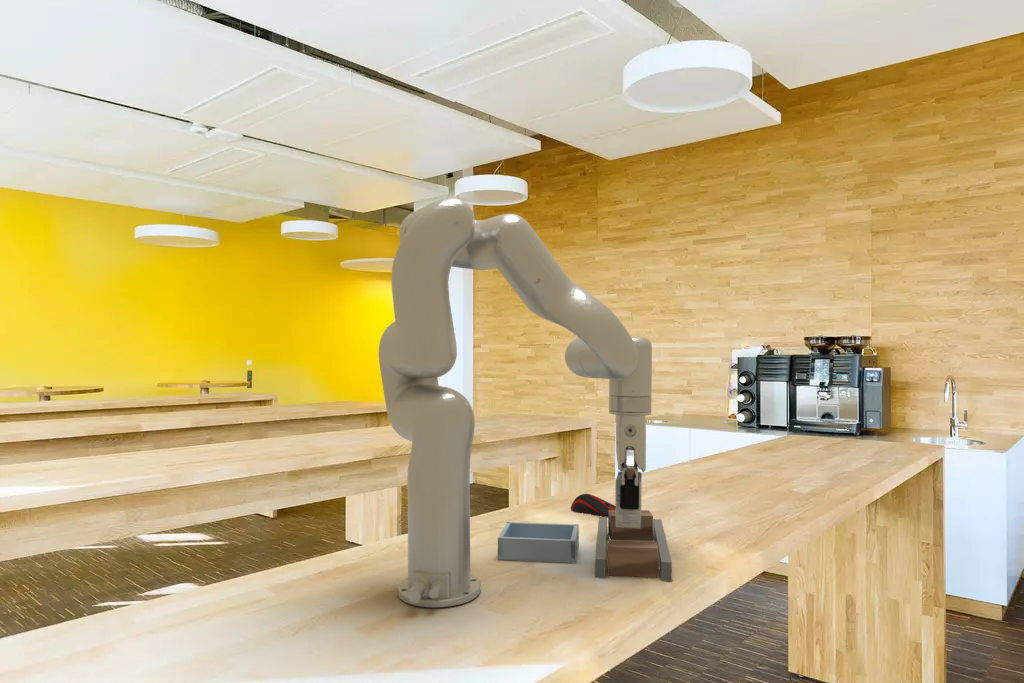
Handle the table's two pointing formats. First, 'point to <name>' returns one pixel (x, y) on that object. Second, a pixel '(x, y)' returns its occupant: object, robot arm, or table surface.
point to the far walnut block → (629, 533)
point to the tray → (539, 542)
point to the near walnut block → (632, 558)
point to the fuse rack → (659, 537)
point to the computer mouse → (591, 505)
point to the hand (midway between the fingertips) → (628, 502)
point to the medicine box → (627, 516)
